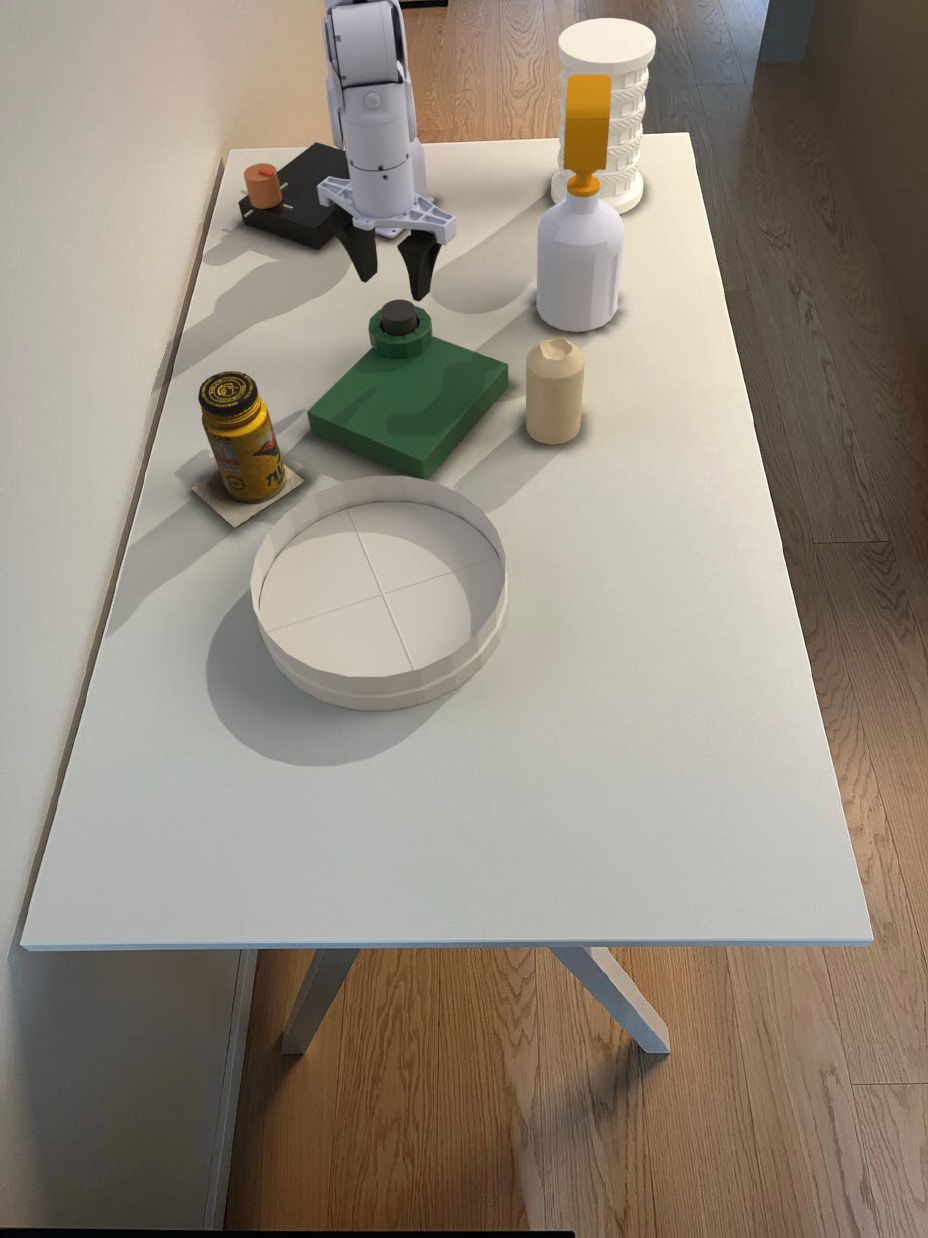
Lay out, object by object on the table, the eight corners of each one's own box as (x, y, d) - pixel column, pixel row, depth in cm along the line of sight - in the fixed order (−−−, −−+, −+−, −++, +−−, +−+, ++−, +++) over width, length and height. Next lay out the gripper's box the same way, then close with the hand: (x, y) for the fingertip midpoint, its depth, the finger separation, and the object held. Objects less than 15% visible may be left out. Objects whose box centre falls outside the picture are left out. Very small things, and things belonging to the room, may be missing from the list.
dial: (243, 203, 118) (236, 173, 114) (264, 187, 120) (257, 157, 116) (268, 212, 116) (261, 181, 113) (289, 195, 118) (282, 165, 115)
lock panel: (313, 161, 128) (309, 138, 126) (392, 186, 124) (389, 162, 121) (226, 230, 120) (219, 206, 117) (307, 259, 115) (303, 235, 113)
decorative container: (634, 163, 124) (649, 12, 109) (649, 213, 117) (668, 59, 103) (545, 170, 124) (549, 20, 109) (556, 221, 117) (561, 68, 103)
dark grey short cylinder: (395, 311, 101) (393, 295, 100) (423, 321, 100) (422, 305, 98) (376, 330, 100) (373, 314, 98) (404, 341, 98) (402, 324, 97)
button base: (396, 335, 106) (392, 297, 102) (514, 379, 101) (514, 341, 97) (302, 429, 98) (292, 392, 94) (425, 483, 93) (420, 445, 89)
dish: (236, 551, 89) (222, 516, 85) (457, 483, 93) (454, 446, 88) (296, 748, 76) (284, 718, 72) (549, 660, 80) (550, 626, 76)
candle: (516, 435, 96) (516, 356, 88) (539, 401, 99) (541, 321, 91) (566, 452, 94) (571, 372, 86) (588, 417, 97) (595, 336, 89)
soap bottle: (616, 284, 110) (638, 58, 90) (616, 335, 104) (638, 107, 84) (538, 282, 110) (542, 58, 90) (534, 333, 105) (537, 107, 85)
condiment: (304, 481, 94) (279, 387, 84) (235, 529, 91) (200, 436, 81) (260, 445, 97) (231, 350, 87) (192, 490, 94) (153, 396, 84)
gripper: (287, 155, 85) (314, 286, 96) (421, 197, 80) (433, 330, 91) (334, 119, 89) (354, 249, 100) (465, 157, 84) (472, 290, 95)
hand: (395, 285), depth 96 cm, fingers open, 6 cm apart
